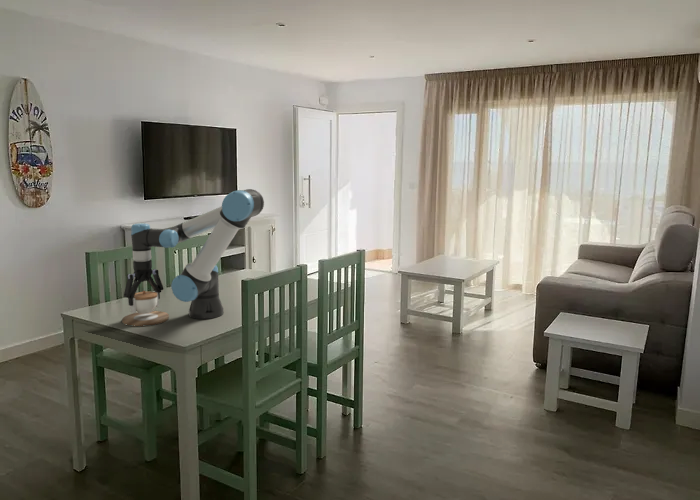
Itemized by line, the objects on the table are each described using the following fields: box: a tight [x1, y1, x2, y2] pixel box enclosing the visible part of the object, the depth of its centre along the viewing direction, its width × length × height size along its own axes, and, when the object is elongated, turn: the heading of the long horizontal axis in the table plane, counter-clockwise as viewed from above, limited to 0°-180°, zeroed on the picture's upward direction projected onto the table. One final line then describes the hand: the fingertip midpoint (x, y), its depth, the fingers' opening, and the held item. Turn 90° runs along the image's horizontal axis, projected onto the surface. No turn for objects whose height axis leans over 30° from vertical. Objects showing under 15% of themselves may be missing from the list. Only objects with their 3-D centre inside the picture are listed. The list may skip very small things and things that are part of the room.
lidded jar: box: [133, 290, 157, 314], centre depth 235 cm, size 11×11×9 cm
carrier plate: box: [121, 310, 170, 327], centre depth 236 cm, size 19×19×1 cm
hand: (145, 309), depth 235 cm, fingers closed on lidded jar, 11 cm apart
